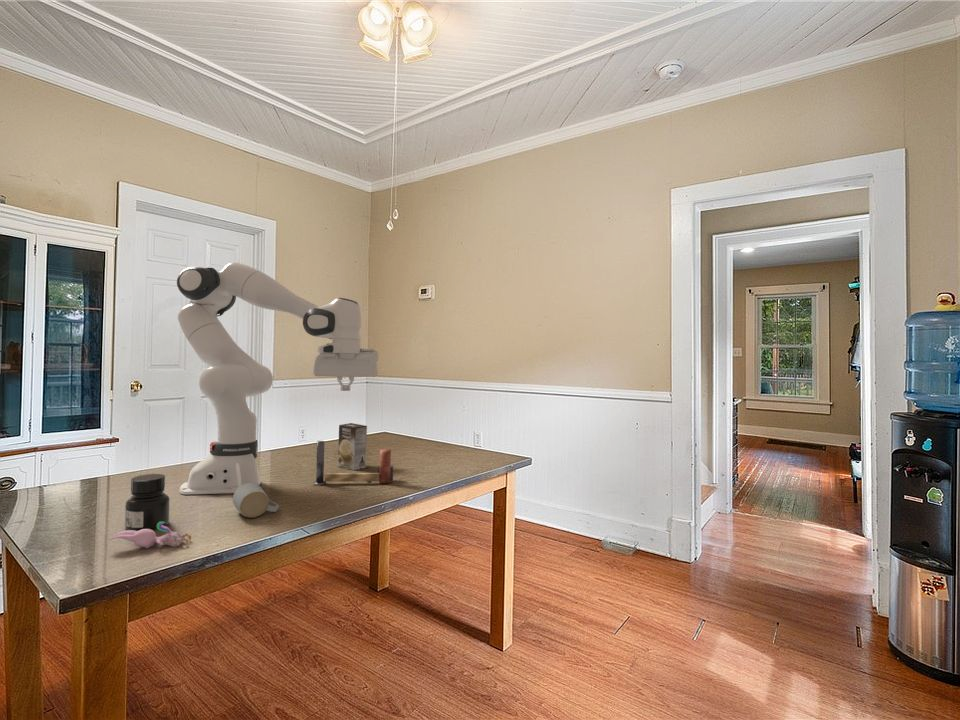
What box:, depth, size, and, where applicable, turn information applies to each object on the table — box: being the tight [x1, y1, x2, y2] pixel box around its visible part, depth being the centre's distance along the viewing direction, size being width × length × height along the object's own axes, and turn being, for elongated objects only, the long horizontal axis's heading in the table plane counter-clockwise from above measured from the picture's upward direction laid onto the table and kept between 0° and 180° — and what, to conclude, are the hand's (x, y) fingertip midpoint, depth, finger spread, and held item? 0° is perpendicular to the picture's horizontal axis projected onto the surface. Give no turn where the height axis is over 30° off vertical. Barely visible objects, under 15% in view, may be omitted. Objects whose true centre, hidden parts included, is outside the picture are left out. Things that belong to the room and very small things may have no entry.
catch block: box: [377, 464, 394, 481], centre depth 163 cm, size 5×2×5 cm, turn 98°
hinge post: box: [312, 440, 327, 486], centre depth 157 cm, size 4×4×14 cm
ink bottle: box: [124, 473, 170, 531], centre depth 117 cm, size 10×9×12 cm
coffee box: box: [337, 422, 368, 471], centre depth 180 cm, size 9×6×16 cm
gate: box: [324, 449, 392, 484], centre depth 159 cm, size 21×4×11 cm, turn 98°
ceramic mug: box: [232, 483, 280, 519], centre depth 128 cm, size 11×8×8 cm
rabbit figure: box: [109, 521, 192, 549], centre depth 105 cm, size 6×6×15 cm
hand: (345, 390), depth 156 cm, fingers closed
